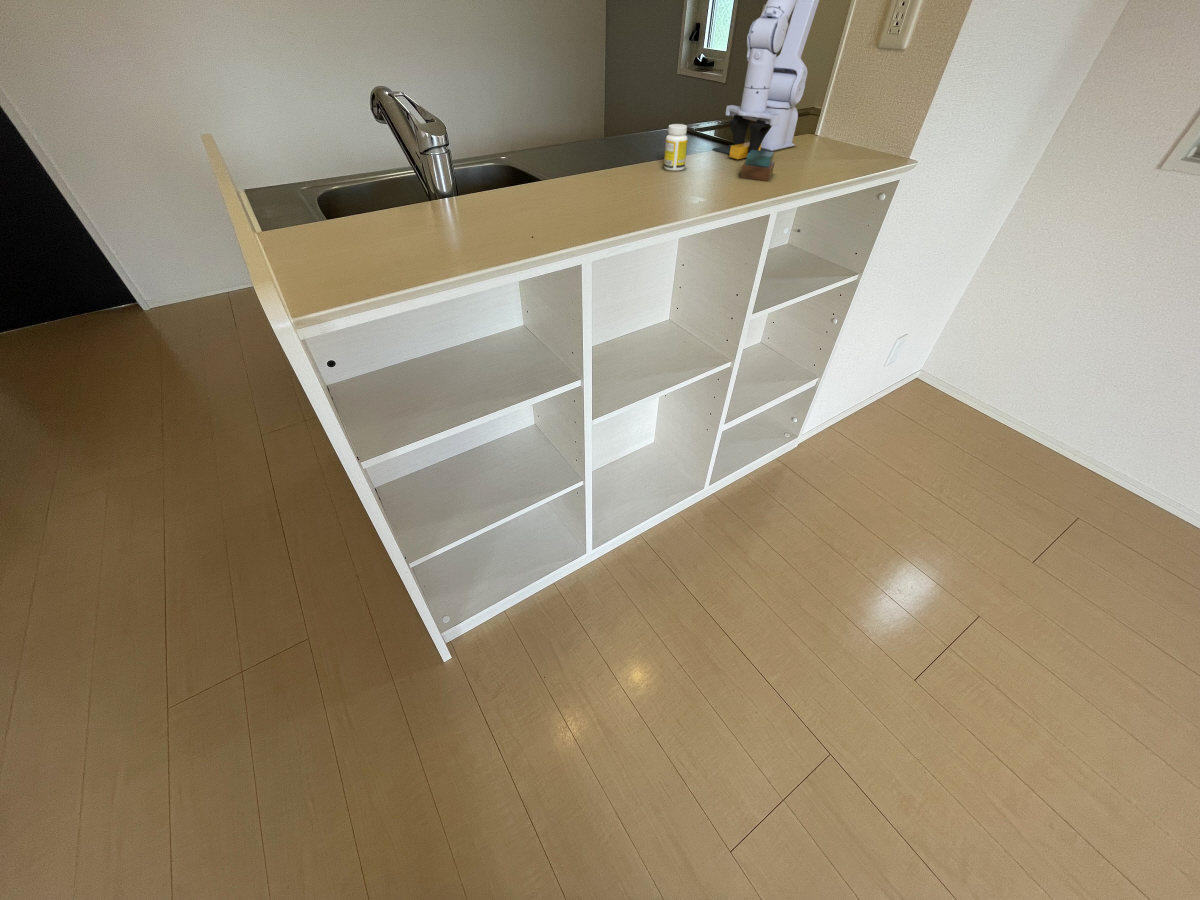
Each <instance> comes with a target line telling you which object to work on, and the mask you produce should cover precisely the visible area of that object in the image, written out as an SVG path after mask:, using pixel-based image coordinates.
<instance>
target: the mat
mask: <svg viewBox="0 0 1200 900" xmlns="http://www.w3.org/2000/svg"><path fill="white" fill-rule="evenodd" d="M747 142H750V140H748V141H744V143H747ZM733 145H734V143H733V144H729V145H724V146H718V147H714V148H712V151H715V152H718V153H722V154H726V155H728V156H729V155H730V149H731V146H733ZM760 151H768V152H777V151H780V149H777V150H767V149H764V148H761V149H760Z"/></svg>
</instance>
